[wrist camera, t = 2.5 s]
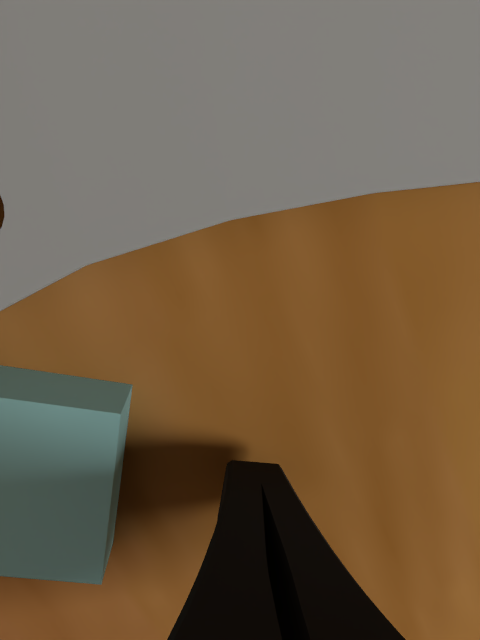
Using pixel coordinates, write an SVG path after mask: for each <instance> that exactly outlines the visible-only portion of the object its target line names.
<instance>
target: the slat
mask: <svg viewBox="0 0 480 640" xmlns="http://www.w3.org/2000/svg"><path fill="white" fill-rule="evenodd" d="M131 392H132V385H131V384H125V383H118V382H111V381H104V380H97V379H90V378H83V377H77V376H70V375H63V374H56V373H49V372H42V371H35V370H29V369H22V368H15V367H8V366H1V365H0V576H6V577H18V578H30V579H42V580H54V581H65V582H77V583H89V584H102V580H103V577H104V573H105V570H106V566H107V563H108V559H109V555H110V552H111V548H112V545H113V539H114V531H115V523H116V515H117V507H118V498H119V490H120V482H121V474H122V466H123V458H124V450H125V441H126V433H127V425H128V417H129V409H130V401H131Z"/></svg>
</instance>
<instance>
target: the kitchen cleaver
mask: <svg viewBox="0 0 480 640" xmlns="http://www.w3.org/2000/svg"><path fill="white" fill-rule="evenodd" d="M472 182H480V0H0V196H1V198H2V201H3V204H4V215H5V217H4V220H3V224H2V227H1V229H0V311H1V310H3V309H5V308H7V307H9V306H11V305H13V304H15V303H16V302H18V301H20V300H22V299H24V298H26V297H28V296H30V295H32V294H33V293H35V292H37V291H39V290H41V289H43V288H45V287H47V286H49V285H50V284H52V283H54V282H56V281H58V280H60V279H62V278H64V277H66V276H67V275H69V274H71V273H73V272H75V271H77V270H79V269H81V268H83V267H84V266H86V265H89V264H92V263H95V262H98V261H102V260H105V259H108V258H111V257H114V256H118V255H121V254H124V253H127V252H130V251H133V250H137V249H140V248H143V247H146V246H149V245H153V244H156V243H159V242H162V241H165V240H168V239H172V238H175V237H178V236H181V235H184V234H188V233H191V232H194V231H197V230H200V229H204V228H207V227H210V226H213V225H216V224H219V223H223V222H226V221H229V220H233V219H238V218H244V217H249V216H254V215H260V214H265V213H270V212H276V211H281V210H286V209H291V208H297V207H302V206H307V205H313V204H318V203H323V202H329V201H334V200H339V199H344V198H350V197H355V196H360V195H366V194H371V193H378V192H388V191H397V190H406V189H416V188H425V187H435V186H444V185H454V184H463V183H472Z"/></svg>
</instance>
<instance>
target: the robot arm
mask: <svg viewBox="0 0 480 640" xmlns="http://www.w3.org/2000/svg"><path fill="white" fill-rule="evenodd" d="M167 640H405V638H404V637H403V636H402V635H401V634H400V633H399V632H398V631H397V630H396V629H395V628H394V626H393V625H392V624H391V623H390V622H389V621H388V620H387V619H386V617H385V616H384V615H383V614H382V613H381V612H380V610H379V609H378V608H377V607H376V606H375V604H374V603H373V602H372V601H371V600H370V598H369V597H368V596H367V595H366V594H365V592H364V591H363V590H362V589H361V587H360V586H359V585H358V584H357V582H356V581H355V580H354V578H353V577H352V576H351V575H350V573H349V572H348V571H347V569H346V568H345V566H344V565H343V564H342V562H341V561H340V560H339V558H338V557H337V556H336V554H335V553H334V551H333V550H332V549H331V547H330V546H329V544H328V543H327V541H326V540H325V538H324V537H323V535H322V534H321V532H320V531H319V529H318V528H317V526H316V525H315V523H314V522H313V520H312V519H311V517H310V516H309V514H308V513H307V511H306V509H305V508H304V506H303V504H302V503H301V501H300V499H299V498H298V496H297V495H296V493H295V491H294V489H293V488H292V486H291V484H290V483H289V481H288V479H287V477H286V475H285V474H284V472H283V470H282V468H281V467H280V466H279V464H271V463H259V462H247V461H236V460H232V461H230V462H228V463H227V466H226V472H225V478H224V484H223V490H222V495H221V501H220V507H219V513H218V521H217V524H216V528H215V531H214V533H213V536H212V539H211V542H210V544H209V547H208V550H207V553H206V555H205V558H204V561H203V563H202V566H201V568H200V570H199V573H198V575H197V578H196V580H195V582H194V585H193V587H192V589H191V591H190V594H189V596H188V598H187V600H186V602H185V605H184V607H183V609H182V611H181V613H180V615H179V617H178V619H177V621H176V623H175V625H174V627H173V629H172V631H171V633H170V635H169V637H168V639H167Z"/></svg>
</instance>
